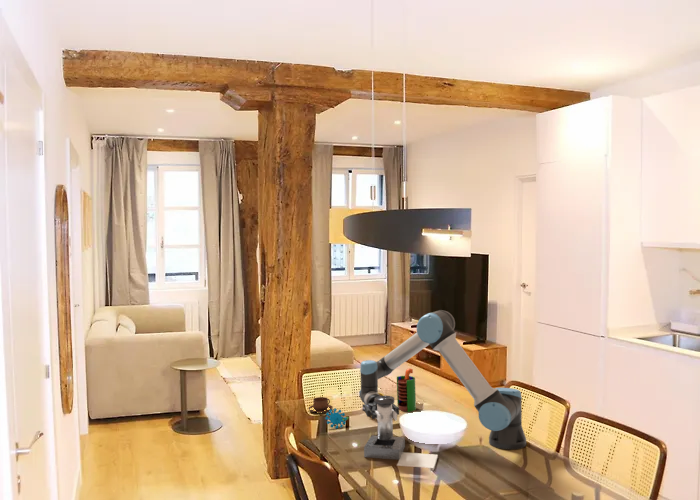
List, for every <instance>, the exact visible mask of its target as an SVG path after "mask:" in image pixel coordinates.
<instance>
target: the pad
mask: <svg viewBox="0 0 700 500" xmlns="http://www.w3.org/2000/svg"><path fill="white" fill-rule="evenodd" d="M438 456H439V455H438V454H432V453H430V454H429V453H422V452H421V453H418V452H404V451H403V453H402V455H401V457H400V459H399V460H398V462H397V463H396V466H399V467H412V468H413V467H414V468H422V469H423V468H425V469H430V471H433V472H434V471H435V468H436V464H437V460H438Z"/></svg>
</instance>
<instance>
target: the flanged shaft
mask: <svg viewBox="0 0 700 500" xmlns="http://www.w3.org/2000/svg"><path fill="white" fill-rule="evenodd" d="M375 403H376V404H377V412H378V413H379V414H380V415H381V422H378V421H377V436H378V439H380V440H390V439H392V438H393V437H394V434H393V432H394V430H393V429H394V428H393V418H392V404H393V403H395V397H394V396H391V395H384V396H377V397H375Z"/></svg>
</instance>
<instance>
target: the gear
mask: <svg viewBox="0 0 700 500" xmlns="http://www.w3.org/2000/svg"><path fill="white" fill-rule="evenodd" d="M325 415H326V416H325V419H324V420H326V424H327V425H329V426H330V428H334V429H338V428H340V429H341V428H343V427H344V426H345V425H346V422H347V420H349V416H346V414H345V412H342V410H341V409H338V411H337V408H332V409H330V410H329V412H325ZM343 425H344V426H343ZM334 426H335V427H334Z"/></svg>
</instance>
